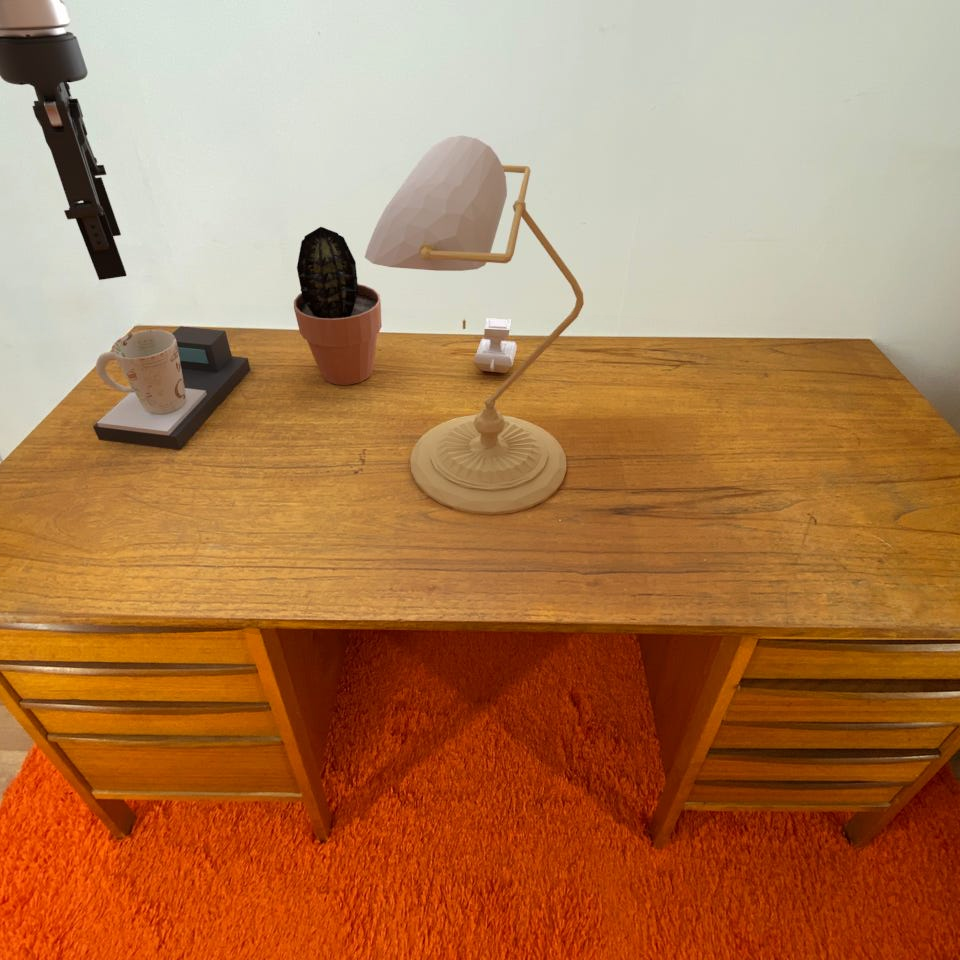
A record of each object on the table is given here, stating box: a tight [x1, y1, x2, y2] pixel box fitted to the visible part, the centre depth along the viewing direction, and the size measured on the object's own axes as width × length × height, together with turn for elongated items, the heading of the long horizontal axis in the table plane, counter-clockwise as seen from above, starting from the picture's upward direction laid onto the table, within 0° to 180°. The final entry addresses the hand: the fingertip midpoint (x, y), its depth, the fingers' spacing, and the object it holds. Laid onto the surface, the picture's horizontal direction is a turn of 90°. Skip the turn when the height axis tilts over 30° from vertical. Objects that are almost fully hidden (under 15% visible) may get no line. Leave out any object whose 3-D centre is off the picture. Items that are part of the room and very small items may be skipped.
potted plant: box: [293, 226, 383, 386], centre depth 102 cm, size 14×14×25 cm
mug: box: [95, 329, 186, 414], centre depth 93 cm, size 8×13×10 cm, turn 91°
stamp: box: [473, 317, 518, 374], centre depth 109 cm, size 9×7×8 cm
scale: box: [92, 325, 252, 451], centre depth 100 cm, size 23×13×7 cm, turn 170°
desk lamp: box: [364, 135, 585, 516], centre depth 79 cm, size 31×23×40 cm
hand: (110, 255), depth 74 cm, fingers open, 13 cm apart
